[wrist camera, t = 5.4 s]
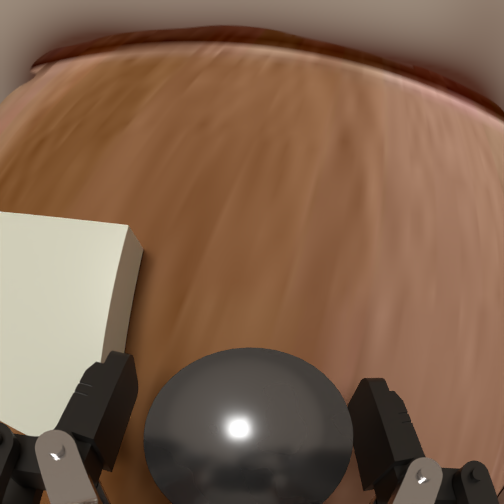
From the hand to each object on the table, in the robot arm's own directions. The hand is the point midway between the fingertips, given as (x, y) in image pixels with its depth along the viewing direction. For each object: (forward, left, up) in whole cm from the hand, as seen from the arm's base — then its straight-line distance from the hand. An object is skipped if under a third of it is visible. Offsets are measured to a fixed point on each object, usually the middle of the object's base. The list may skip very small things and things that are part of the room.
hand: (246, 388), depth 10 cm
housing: (0, +1, -5) cm, 5 cm away
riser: (+11, -1, -5) cm, 12 cm away
